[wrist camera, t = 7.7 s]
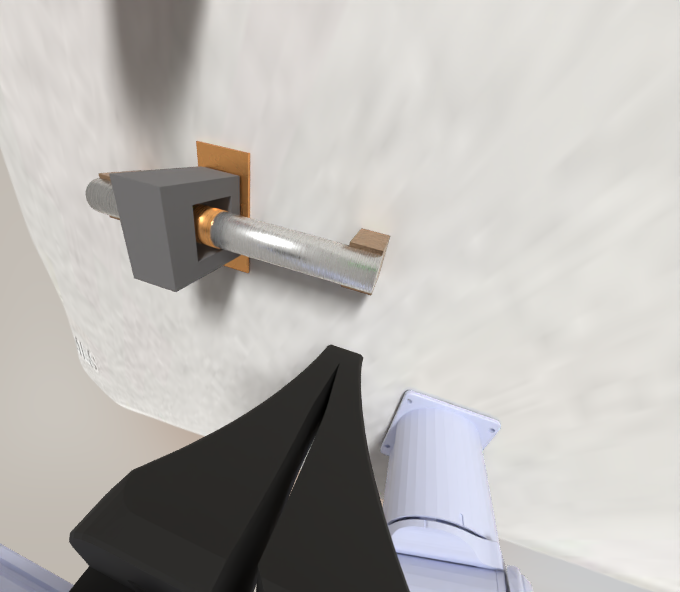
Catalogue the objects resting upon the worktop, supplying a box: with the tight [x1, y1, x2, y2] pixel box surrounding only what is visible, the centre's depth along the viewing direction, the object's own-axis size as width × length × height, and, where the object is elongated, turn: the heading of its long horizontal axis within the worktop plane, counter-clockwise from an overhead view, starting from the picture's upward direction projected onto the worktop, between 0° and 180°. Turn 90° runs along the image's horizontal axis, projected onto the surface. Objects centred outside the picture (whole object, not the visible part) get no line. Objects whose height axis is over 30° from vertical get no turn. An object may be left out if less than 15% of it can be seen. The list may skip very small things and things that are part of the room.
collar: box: [109, 166, 241, 292], centre depth 18 cm, size 3×6×7 cm, turn 169°
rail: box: [86, 141, 390, 295], centre depth 19 cm, size 20×9×4 cm, turn 79°
